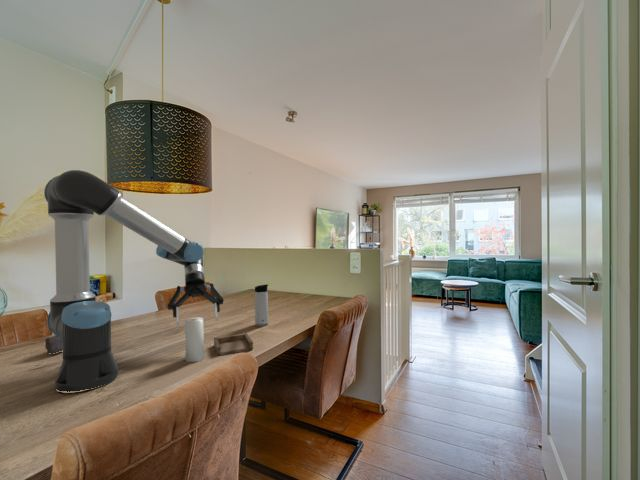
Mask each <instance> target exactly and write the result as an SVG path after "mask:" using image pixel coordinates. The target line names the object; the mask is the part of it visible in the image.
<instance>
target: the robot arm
mask: <svg viewBox="0 0 640 480" xmlns="http://www.w3.org/2000/svg"><path fill="white" fill-rule="evenodd" d="M43 194H44V195H43V196H44V198H45V201H46V202H47V214H48V216H49V217H50V218H52V219H53V221H54V241H55V242H54V247H55V252H54V255H55V293H56V294H55V295H54V296H53V297H52V298H51V299H49V304H50V305H49V308H50V309H49V313H48V315H47V318H46V323H47V324H46V325H47V327H48V329H49V330H50V332H51V333H52V334H53V336H58V337H60V338H61V339H62V344H63V352H62V362H61V366H60V368H59V371H58V373H57V377H56V378H55V382H54V388H56V389H57V390H59V391H67V392H68V391H69V392H70V391H80V390H85V389H91V388H95V387H98V386H101V385H104V384H106V385H108V384H110V383H111V381H112V382H113V381H115V380H116V379H117V378H118V377H117V376H119V366H118V364H117V360H116V359H115V357H114V354H113V352H112V311H111V306H110V305H109V304H108V303H107V302H106V301H105V302H104V301H101V300H99V301H97V300H96V294H95V293H93V292H92V291H91V287H90V284H91V283H90V282H91V281H90V241H89V240H90V239H89V235H90V234H89V221H90V220H91V219H92V218H93V217H95V214H96V215H98V216H107V217H108V218H110V219H112V220H113V221H115V222H117V223H118V224H120V225H122V226H124V227H125V228H127V229H128V230H130V231H132V232H134V233H136V234H138V235H139V236H141V237H143V238H145V239H146V240H148V241H149V242H151V243H152V244H154V245H156V246H157V247H156V249H155V253H156V255H157V257H160V258H162V259H165V260H167V261H170V262H174V263H177V264H179V265H181V266H184V278H185V279H184V283H185V284H184V287H182V286H180V285H177V287H176V291H175V292H174V294H173V296H172V297H171V299H170V300H169V302H168V304H167V310H168V311H170V310H172V316H173V318H176V327H179V326H180V316H179V314H180V311H179V308H180V307H181V306H182V305H183V304H184V303H185V302H186V301H187V300H188V299H189V298H190V297H191V298H196V297H202V298H205V299H206V300H208V301H209V302H210V303H211V304H213V311H214V319H215V322H218V320H219V316H218V313H220V312H221V308H220V306H221V305H223V304H224V301H225V300H224V298H223V296H221V294H220V292H218V290H217V289H216V288H215V286H214V284H213V283H212V282H211V283H210V284H208V285H206V279H205V270H204V253H205V251H204V250H205V249H204V247H203V245H202V244H201V243H198V242H195V241H191V240H189V239H187V238H186V237H184V236H182V235H181V234H179V232H177V231H175V230H173V229H172V228H170V227H168V226H167V225H166V224H164V223H163V222H161V221H159V220H158V219H157V218H155V217H153V216H152V215H150V214H149V213H147V212H146V211H144V210H142V208H140V207H138V206H136V205H135V204H134V203H132V202H131V201H129V200H128V199H126V198H124V197H123V196H122V195H121V191H120V190H118V189H116V188H115V187H114V186H112V185H110V184H109V183H108V182H106V181H105V180H104V179H101V178H100V177H98V176H96V175H94V174H93V173H90V172H88V171H84V170H80V169H79V170H78V169H73V170H72V169H71V170H67V171H65V172H62V173H61V174H59V175H57V176H54V177H52V178H51V179H50V180H49V181H48V182H47V183H46V185H45V187H44V193H43ZM207 290H208V291H210V292H208V291H207ZM183 292H184V294H182V293H183ZM181 294H182V296H181V297H180V295H181ZM179 297H180V298H179ZM178 298H179V299H178ZM116 377H117V378H116ZM115 378H116V379H115ZM114 379H115V380H114ZM109 382H110V383H109ZM107 383H108V384H107ZM104 386H105V385H104ZM101 387H102V386H101ZM98 388H99V387H98Z"/></svg>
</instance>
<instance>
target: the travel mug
mask: <svg viewBox="0 0 640 480" xmlns="http://www.w3.org/2000/svg"><path fill="white" fill-rule="evenodd" d="M268 286H269V284H261V285H256V286H254V310H255V311H254V319H255V320H254V321H255V323H254V325H255V326H256V327H266V326H268V325H269V301H268V300H269V297H268V295H269V293H268Z"/></svg>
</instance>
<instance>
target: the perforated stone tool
mask: <svg viewBox="0 0 640 480" xmlns="http://www.w3.org/2000/svg"><path fill="white" fill-rule="evenodd" d="M44 342H45V345H44V348H45V350H46V354H48V353H51V354H53V353H56V352H59V351H62V350H63V344H62V339H61V338H60V337H58V336H56V335H52V336H50V337H47V338H45V341H44Z"/></svg>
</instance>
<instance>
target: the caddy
mask: <svg viewBox="0 0 640 480" xmlns="http://www.w3.org/2000/svg"><path fill="white" fill-rule="evenodd" d="M213 347H214V350H215V353H216V356H217V357H219V356H224V355H231V354H236V353H242V352H248V351H247V350H249V351H253V350H254V341H253V340H252V339H251V338H250V336H249V335H248V333H240V334H233V335H232V334H231V335H226V336H219V337H214V338H213ZM252 349H253V350H252ZM240 351H241V352H240Z"/></svg>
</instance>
